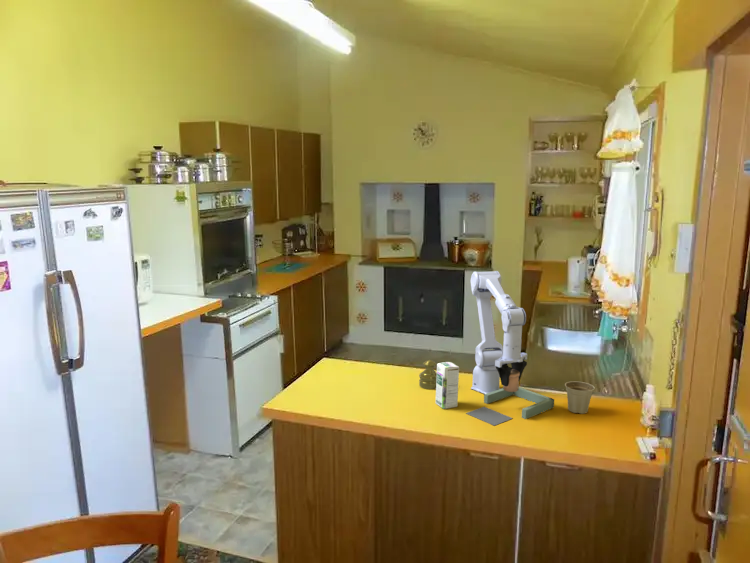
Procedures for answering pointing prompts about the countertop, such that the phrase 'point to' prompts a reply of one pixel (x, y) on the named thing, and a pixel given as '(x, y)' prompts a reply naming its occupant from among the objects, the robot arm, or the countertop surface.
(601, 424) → the countertop surface
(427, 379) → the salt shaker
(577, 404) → the flower pot
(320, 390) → the countertop surface
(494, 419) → the rubber mat
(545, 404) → the green u-shaped frame
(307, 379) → the countertop surface
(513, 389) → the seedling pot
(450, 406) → the syrup box
